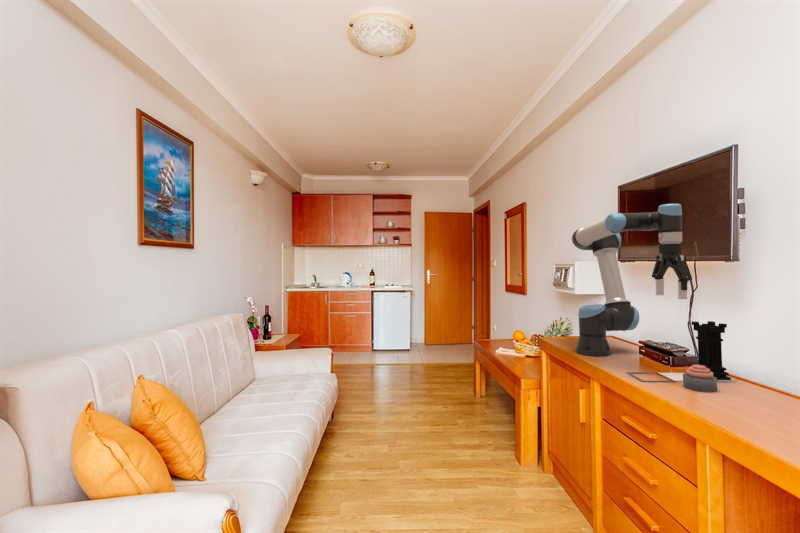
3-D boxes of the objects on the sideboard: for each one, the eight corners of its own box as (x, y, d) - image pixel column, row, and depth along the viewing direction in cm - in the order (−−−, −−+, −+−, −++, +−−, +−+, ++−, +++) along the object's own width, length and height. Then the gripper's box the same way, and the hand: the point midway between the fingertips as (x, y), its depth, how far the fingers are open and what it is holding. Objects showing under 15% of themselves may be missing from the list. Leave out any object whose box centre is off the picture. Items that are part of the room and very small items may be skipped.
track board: (626, 373, 144) (626, 371, 144) (714, 373, 141) (713, 372, 141) (642, 381, 133) (642, 380, 133) (738, 382, 129) (738, 381, 129)
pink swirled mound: (681, 372, 129) (680, 363, 129) (703, 372, 128) (703, 363, 128) (695, 378, 122) (694, 368, 122) (718, 378, 121) (718, 368, 121)
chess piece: (714, 373, 139) (712, 321, 139) (730, 380, 131) (728, 324, 131) (691, 373, 140) (689, 321, 140) (706, 379, 132) (704, 324, 132)
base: (677, 383, 130) (676, 372, 130) (704, 383, 129) (704, 372, 129) (694, 392, 121) (694, 380, 121) (724, 392, 120) (723, 380, 120)
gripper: (641, 244, 157) (642, 293, 157) (681, 242, 132) (682, 300, 132) (660, 244, 156) (660, 293, 157) (704, 241, 131) (704, 300, 132)
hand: (670, 297), depth 144 cm, fingers open, 13 cm apart
